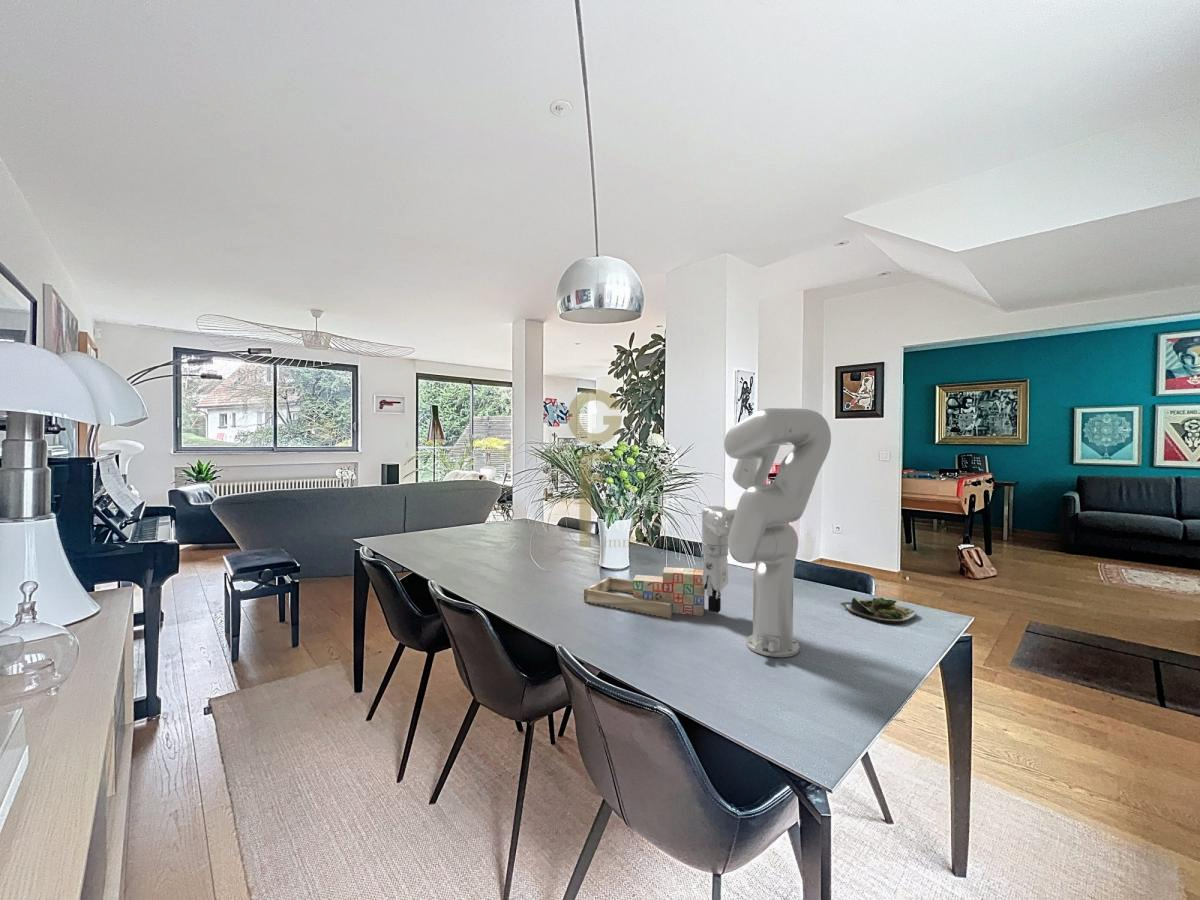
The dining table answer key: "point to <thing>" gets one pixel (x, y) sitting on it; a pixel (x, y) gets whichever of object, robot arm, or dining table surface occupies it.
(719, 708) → the dining table surface
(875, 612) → the salad plate
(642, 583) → the stack of blocks
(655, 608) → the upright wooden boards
